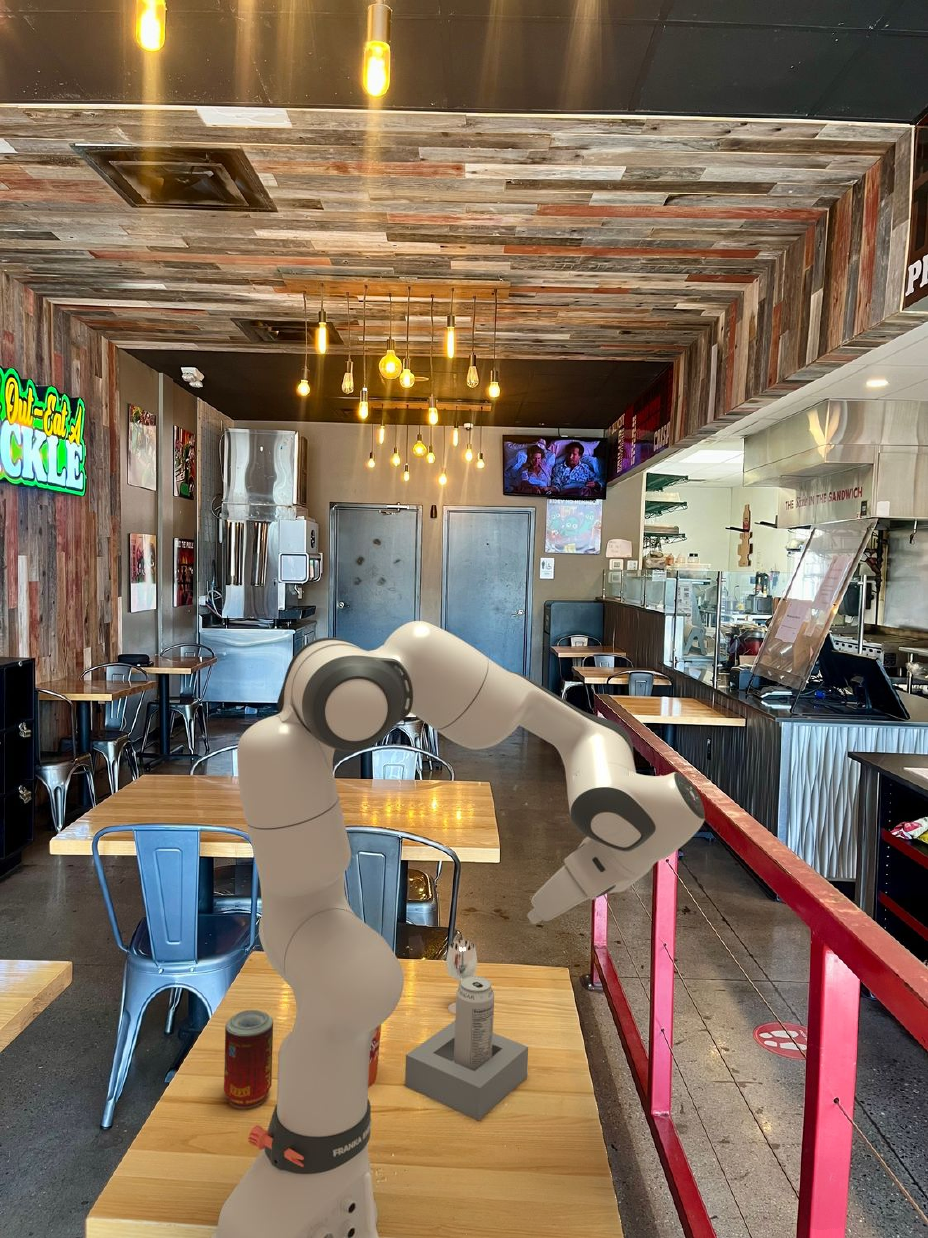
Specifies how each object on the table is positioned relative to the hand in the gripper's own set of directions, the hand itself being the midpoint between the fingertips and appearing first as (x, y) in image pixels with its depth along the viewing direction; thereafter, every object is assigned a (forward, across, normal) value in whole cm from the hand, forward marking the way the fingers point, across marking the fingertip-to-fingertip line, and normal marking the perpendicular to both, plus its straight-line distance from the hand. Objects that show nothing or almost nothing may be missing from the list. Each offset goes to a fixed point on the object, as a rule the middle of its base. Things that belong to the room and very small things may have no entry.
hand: (548, 909), depth 125 cm
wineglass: (+42, -18, +3) cm, 45 cm away
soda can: (+49, +24, -4) cm, 54 cm away
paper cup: (+42, +10, +3) cm, 43 cm away
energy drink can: (+30, 0, +13) cm, 33 cm away
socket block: (+32, 0, +13) cm, 34 cm away
